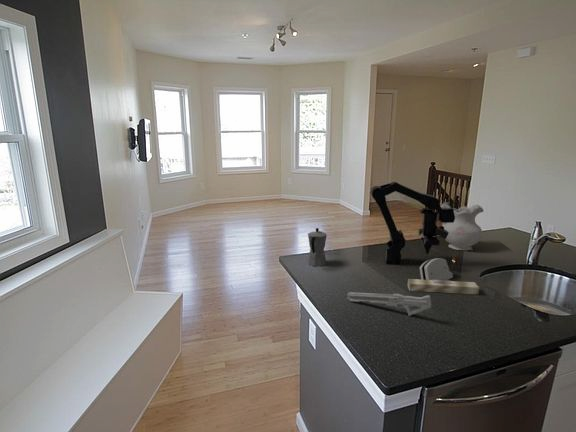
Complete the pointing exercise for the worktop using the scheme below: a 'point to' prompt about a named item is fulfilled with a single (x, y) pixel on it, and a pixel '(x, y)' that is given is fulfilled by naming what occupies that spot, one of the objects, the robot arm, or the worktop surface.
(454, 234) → the ceramic pitcher
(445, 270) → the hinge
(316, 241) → the coffeepot
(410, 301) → the gun
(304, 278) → the worktop surface
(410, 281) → the beige wooden bar
